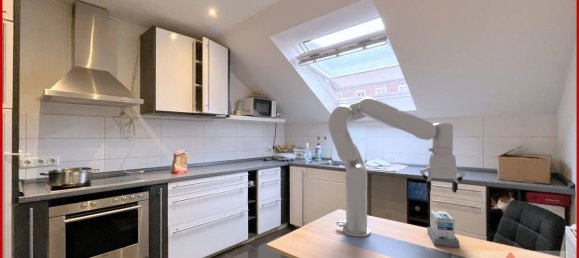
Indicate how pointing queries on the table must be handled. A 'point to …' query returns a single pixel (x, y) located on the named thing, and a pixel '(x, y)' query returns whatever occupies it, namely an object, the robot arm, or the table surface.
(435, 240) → the tray
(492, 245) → the table surface
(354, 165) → the robot arm
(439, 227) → the light bulb box
